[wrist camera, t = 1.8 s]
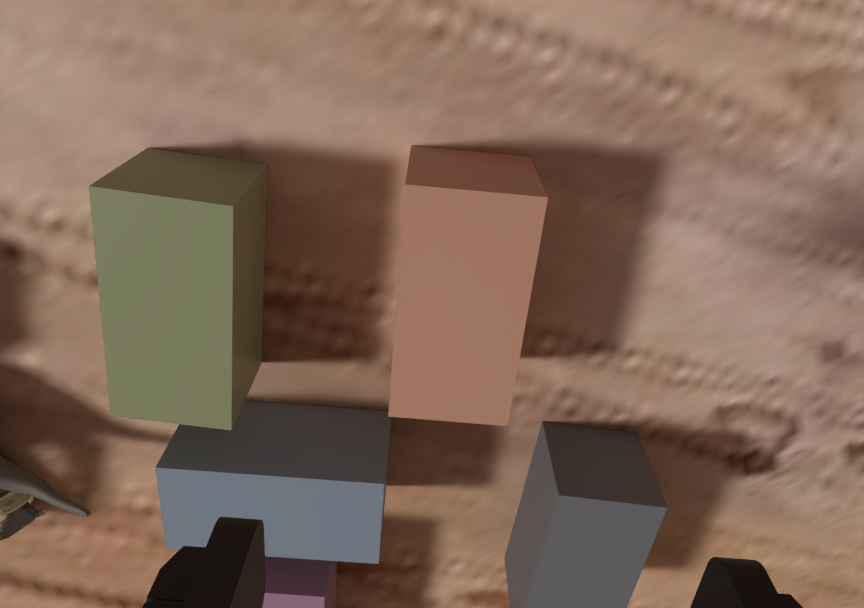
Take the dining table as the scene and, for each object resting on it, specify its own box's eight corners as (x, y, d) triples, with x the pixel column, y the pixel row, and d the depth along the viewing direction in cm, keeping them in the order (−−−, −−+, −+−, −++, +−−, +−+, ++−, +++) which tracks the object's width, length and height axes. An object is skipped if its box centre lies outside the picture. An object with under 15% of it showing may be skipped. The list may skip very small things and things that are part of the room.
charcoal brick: (541, 419, 28) (558, 495, 24) (635, 430, 28) (668, 508, 24) (504, 555, 31) (513, 640, 27) (587, 564, 32) (608, 650, 28)
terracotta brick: (411, 144, 22) (405, 184, 19) (529, 155, 23) (548, 197, 19) (396, 347, 26) (388, 416, 22) (497, 355, 26) (507, 426, 22)
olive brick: (149, 146, 23) (89, 186, 19) (268, 163, 23) (233, 206, 19) (160, 347, 26) (111, 415, 22) (262, 360, 26) (231, 430, 23)
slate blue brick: (202, 470, 29) (166, 549, 25) (195, 394, 27) (155, 467, 23) (386, 483, 29) (378, 563, 25) (391, 409, 27) (384, 483, 24)
